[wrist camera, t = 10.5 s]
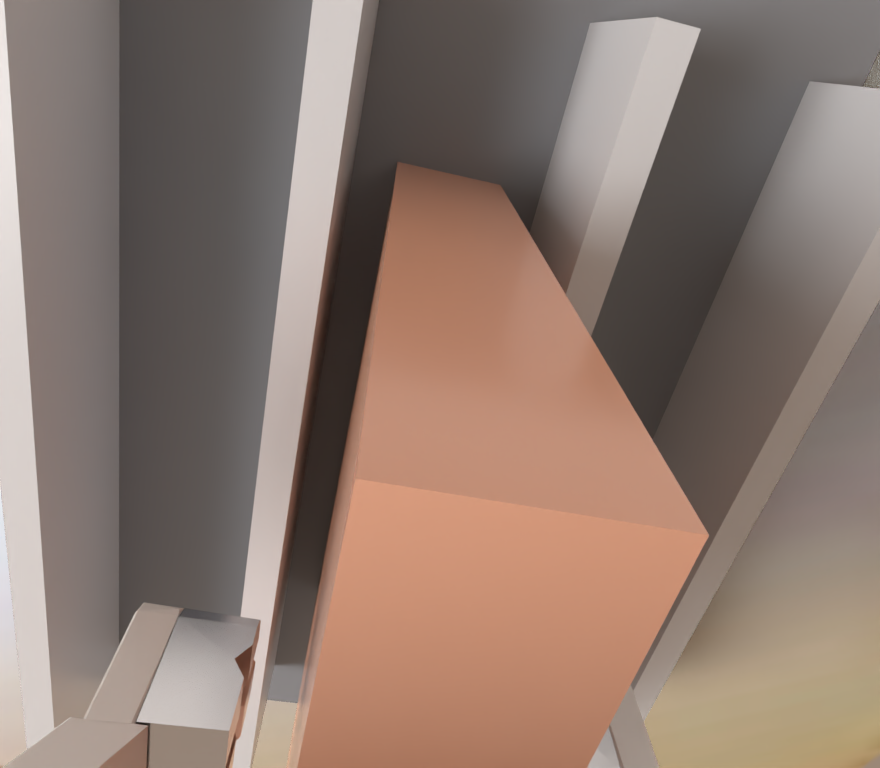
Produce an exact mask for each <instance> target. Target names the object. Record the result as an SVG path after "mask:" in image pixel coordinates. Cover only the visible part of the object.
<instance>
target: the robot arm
mask: <svg viewBox="0 0 880 768" xmlns="http://www.w3.org/2000/svg"><path fill="white" fill-rule="evenodd" d="M260 623H261V621H260V620H258V619H252V618H245V617H239V616H233V615H226V614H220V613H213V612H207V611H200V610H194V609H188V608H178V607H171V606H165V605H158V604H151V603H143V604H142V605H141V606H140V607H139V609H138V610H137V611H136V612H135V614H134V616H133V618H132V620H131V622H130V624H129V626H128V628H127V630H126V632H125V634H124V636H123V638H122V640H121V642H120V644H119V646H118V649H117V651H116V653H115V655H114V657H113V659H112V661H111V663H110V665H109V667H108V669H107V671H106V673H105V675H104V677H103V679H102V681H101V683H100V685H99V687H98V690H97V692H96V694H95V696H94V698H93V700H92V702H91V704H90V706H89V708H88V710H87V712H86V714H85V716H84V718H77V717H70V718H68V719H67V720H66V721H64V722H63V723H62V724H60V725H59V726H58V727H56V728H55V729H54V730H52V731H51V732H49V733H48V734H47V735H45V736H44V737H43V738H41V739H40V740H39V741H37V742H36V743H35V744H33V745H32V746H31V747H29V748H28V749H27V750H25V751H24V752H23V753H21V754H20V755H18V756H17V757H16V758H14V759H13V760H12V761H10V762H9V763H8V764H6V765H5V766H4V767H2V768H232V767H233V760H234V753H235V746H236V740H238V739H239V738H240V736H241V732H242V728H243V724H244V720H245V715H246V711H247V706H248V702H249V697H250V692H251V687H252V681H253V676H254V669H255V663H256V662H255V660H254V656H255V652H256V648H257V644H258V640H259V632H260ZM587 768H659V765H658V762H657V759H656V756H655V753H654V750H653V747H652V744H651V741H650V739H649V736H648V733H647V730H646V727H645V724H644V721H643V718H642V715H641V712H640V710H639V707H638V704H637V701H636V698H635V695H634V692H633V689H632V686H631V685H630V687H629V689H628V691H627V693H626V694H625V696H624V698H623V700H622V702H621V704H620V706H619V708H618V710H617V712H616V713H615V715H614V717H613V719H612V721H611V723H610V725H609V727H608V729H607V731H606V733H605V734H604V736H603V738H602V740H601V742H600V744H599V746H598V748H597V750H596V752H595V753H594V755H593V757H592V759H591V761H590V763H589V765H588V767H587Z"/></svg>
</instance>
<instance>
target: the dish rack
mask: <svg viewBox="0 0 880 768" xmlns="http://www.w3.org/2000/svg"><path fill="white" fill-rule="evenodd" d="M879 51H880V0H0V487H1V497H2V507H3V517H4V527H5V537H6V547H7V556H8V566H9V576H10V586H11V596H12V606H13V616H14V626H15V636H16V646H17V656H18V666H19V676H20V686H21V696H22V706H23V716H24V726H25V736H26V746H27V749H28V748H29V747H31V746H32V745H33V744H35V743H36V742H37V741H39V740H40V739H41V738H43V737H44V736H45V735H47V734H48V733H49V732H51V731H52V730H54V729H55V728H56V727H58V726H59V725H60V724H62V723H63V722H64V721H66V720H67V719H68V718H70V717H77V718H84V716H85V714H86V712H87V710H88V708H89V706H90V704H91V702H92V700H93V698H94V696H95V694H96V692H97V690H98V687H99V685H100V683H101V681H102V679H103V677H104V675H105V673H106V671H107V669H108V667H109V665H110V663H111V661H112V659H113V657H114V655H115V653H116V651H117V649H118V646H119V644H120V642H121V640H122V638H123V636H124V634H125V632H126V630H127V628H128V626H129V624H130V622H131V620H132V618H133V616H134V614H135V612H136V611H137V610H138V609H139V607H140V606H141V605H142V604H143V603H151V604H158V605H165V606H171V607H178V608H188V609H194V610H200V611H207V612H213V613H220V614H226V615H233V616H239V617H245V618H252V619H258V620H260V621H261V623H260V632H259V640H258V644H257V648H256V652H255V656H254V660H255V662H256V663H255V669H254V676H253V681H252V687H251V692H250V697H249V702H248V706H247V711H246V715H245V720H244V724H243V728H242V732H241V736H240V738H239V739H238V740H236V746H235V753H234V760H233V767H232V768H252V764H253V760H254V755H255V751H256V746H257V742H258V737H259V733H260V728H261V724H262V719H263V715H264V710H265V706H266V701H267V700H274V701H283V702H292V703H298V699H299V693H300V687H301V681H302V676H303V670H304V664H305V659H306V653H307V647H308V641H309V636H310V630H311V624H312V618H313V613H314V607H315V601H316V596H317V590H318V584H319V579H320V574H321V568H322V563H323V558H324V552H325V547H326V542H327V536H328V531H329V526H330V520H331V515H332V509H333V504H334V499H335V493H336V488H337V483H338V477H339V472H340V467H341V461H342V456H343V450H344V445H345V440H346V434H347V429H348V424H349V418H350V413H351V408H352V402H353V397H354V392H355V386H356V381H357V375H358V370H359V365H360V359H361V354H362V349H363V343H364V338H365V333H366V327H367V322H368V317H369V311H370V306H371V300H372V295H373V290H374V284H375V279H376V274H377V268H378V263H379V258H380V252H381V247H382V241H383V236H384V231H385V225H386V220H387V215H388V209H389V204H390V199H391V193H392V188H393V183H394V177H395V172H396V166H397V162H401V163H406V164H410V165H414V166H419V167H423V168H428V169H432V170H437V171H441V172H445V173H450V174H454V175H459V176H463V177H467V178H472V179H476V180H481V181H485V182H489V183H494V184H498V185H501V187H502V188H503V190H504V192H505V193H506V195H507V197H508V198H509V200H510V202H511V203H512V205H513V207H514V208H515V210H516V212H517V214H518V215H519V217H520V219H521V220H522V222H523V224H524V225H525V227H526V229H527V230H528V232H529V234H530V235H531V237H532V239H533V240H534V242H535V244H536V245H537V247H538V249H539V250H540V252H541V254H542V255H543V257H544V259H545V260H546V262H547V264H548V266H549V267H550V269H551V271H552V272H553V274H554V276H555V277H556V279H557V281H558V282H559V284H560V286H561V287H562V289H563V291H564V292H565V294H566V296H567V297H568V299H569V301H570V302H571V304H572V306H573V307H574V309H575V311H576V312H577V314H578V316H579V318H580V319H581V321H582V323H583V324H584V326H585V328H586V329H587V331H588V333H589V334H590V336H591V338H592V339H593V341H594V343H595V344H596V346H597V348H598V349H599V351H600V353H601V354H602V356H603V358H604V359H605V361H606V363H607V365H608V366H609V368H610V370H611V371H612V373H613V375H614V376H615V378H616V380H617V381H618V383H619V385H620V386H621V388H622V390H623V391H624V393H625V395H626V396H627V398H628V400H629V401H630V403H631V405H632V406H633V408H634V410H635V411H636V413H637V415H638V417H639V418H640V420H641V422H642V423H643V425H644V427H645V428H646V430H647V432H648V433H649V435H650V437H651V438H652V440H653V442H654V443H655V445H656V447H657V448H658V450H659V452H660V453H661V455H662V457H663V458H664V460H665V462H666V464H667V465H668V467H669V469H670V470H671V472H672V474H673V475H674V477H675V479H676V480H677V482H678V484H679V485H680V487H681V489H682V490H683V492H684V494H685V495H686V497H687V499H688V500H689V502H690V504H691V505H692V507H693V509H694V510H695V512H696V514H697V516H698V517H699V519H700V521H701V522H702V524H703V526H704V527H705V529H706V531H707V532H708V534H709V537H708V539H707V540H706V542H705V544H704V546H703V548H702V550H701V552H700V554H699V556H698V558H697V559H696V561H695V563H694V565H693V567H692V569H691V571H690V573H689V575H688V577H687V578H686V580H685V582H684V584H683V586H682V588H681V590H680V592H679V594H678V596H677V598H676V599H675V601H674V603H673V605H672V607H671V609H670V611H669V613H668V615H667V617H666V618H665V620H664V622H663V624H662V626H661V628H660V630H659V632H658V634H657V636H656V637H655V639H654V641H653V643H652V645H651V647H650V649H649V651H648V653H647V655H646V656H645V658H644V660H643V662H642V664H641V666H640V668H639V670H638V672H637V674H636V675H635V677H634V679H633V681H632V683H631V686H632V689H633V692H634V695H635V698H636V701H637V704H638V707H639V710H640V712H641V715H642V718H643V721H644V720H645V718H646V717H647V715H648V713H649V711H650V710H651V708H652V706H653V704H654V702H655V701H656V699H657V697H658V695H659V693H660V692H661V690H662V688H663V686H664V685H665V683H666V681H667V679H668V677H669V676H670V674H671V672H672V670H673V668H674V667H675V665H676V663H677V661H678V660H679V658H680V656H681V654H682V652H683V651H684V649H685V647H686V645H687V643H688V642H689V640H690V638H691V636H692V635H693V633H694V631H695V629H696V627H697V626H698V624H699V622H700V620H701V618H702V617H703V615H704V613H705V611H706V610H707V608H708V606H709V604H710V602H711V601H712V599H713V597H714V595H715V593H716V592H717V590H718V588H719V586H720V585H721V583H722V581H723V579H724V577H725V576H726V574H727V572H728V570H729V569H730V567H731V565H732V563H733V561H734V560H735V558H736V556H737V554H738V552H739V551H740V549H741V547H742V545H743V544H744V542H745V540H746V538H747V536H748V535H749V533H750V531H751V529H752V527H753V526H754V524H755V522H756V520H757V519H758V517H759V515H760V513H761V511H762V510H763V508H764V506H765V504H766V502H767V501H768V499H769V497H770V495H771V494H772V492H773V490H774V488H775V486H776V485H777V483H778V481H779V479H780V477H781V476H782V474H783V472H784V470H785V469H786V467H787V465H788V463H789V461H790V460H791V458H792V456H793V454H794V452H795V451H796V449H797V447H798V445H799V444H800V442H801V440H802V438H803V436H804V435H805V433H806V431H807V429H808V427H809V426H810V424H811V422H812V420H813V419H814V417H815V415H816V413H817V411H818V410H819V408H820V406H821V404H822V402H823V401H824V399H825V397H826V395H827V394H828V392H829V390H830V388H831V386H832V385H833V383H834V381H835V379H836V378H837V376H838V374H839V372H840V370H841V369H842V367H843V365H844V363H845V361H846V360H847V358H848V356H849V354H850V353H851V351H852V349H853V347H854V345H855V344H856V342H857V340H858V338H859V336H860V335H861V333H862V331H863V329H864V328H865V326H866V324H867V322H868V320H869V319H870V317H871V315H872V313H873V311H874V310H875V308H876V306H877V304H878V303H879V301H880V89H879V88H869V87H863V85H864V83H865V81H866V78H867V76H868V74H869V72H870V70H871V68H872V66H873V64H874V61H875V59H876V57H877V55H878V53H879Z"/></svg>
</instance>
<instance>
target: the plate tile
mask: <svg viewBox="0 0 880 768" xmlns="http://www.w3.org/2000/svg"><path fill="white" fill-rule="evenodd" d="M708 537H709V534H708V532H707V531H706V529H705V527H704V526H703V524H702V522H701V521H700V519H699V517H698V516H697V514H696V512H695V510H694V509H693V507H692V505H691V504H690V502H689V500H688V499H687V497H686V495H685V494H684V492H683V490H682V489H681V487H680V485H679V484H678V482H677V480H676V479H675V477H674V475H673V474H672V472H671V470H670V469H669V467H668V465H667V464H666V462H665V460H664V458H663V457H662V455H661V453H660V452H659V450H658V448H657V447H656V445H655V443H654V442H653V440H652V438H651V437H650V435H649V433H648V432H647V430H646V428H645V427H644V425H643V423H642V422H641V420H640V418H639V417H638V415H637V413H636V411H635V410H634V408H633V406H632V405H631V403H630V401H629V400H628V398H627V396H626V395H625V393H624V391H623V390H622V388H621V386H620V385H619V383H618V381H617V380H616V378H615V376H614V375H613V373H612V371H611V370H610V368H609V366H608V365H607V363H606V361H605V359H604V358H603V356H602V354H601V353H600V351H599V349H598V348H597V346H596V344H595V343H594V341H593V339H592V338H591V336H590V334H589V333H588V331H587V329H586V328H585V326H584V324H583V323H582V321H581V319H580V318H579V316H578V314H577V312H576V311H575V309H574V307H573V306H572V304H571V302H570V301H569V299H568V297H567V296H566V294H565V292H564V291H563V289H562V287H561V286H560V284H559V282H558V281H557V279H556V277H555V276H554V274H553V272H552V271H551V269H550V267H549V266H548V264H547V262H546V260H545V259H544V257H543V255H542V254H541V252H540V250H539V249H538V247H537V245H536V244H535V242H534V240H533V239H532V237H531V235H530V234H529V232H528V230H527V229H526V227H525V225H524V224H523V222H522V220H521V219H520V217H519V215H518V214H517V212H516V210H515V208H514V207H513V205H512V203H511V202H510V200H509V198H508V197H507V195H506V193H505V192H504V190H503V188H502V187H501V185H498V184H494V183H489V182H485V181H481V180H476V179H472V178H467V177H463V176H459V175H454V174H450V173H445V172H441V171H437V170H432V169H428V168H423V167H419V166H414V165H410V164H406V163H401V162H397V166H396V172H395V177H394V183H393V188H392V193H391V199H390V204H389V209H388V215H387V220H386V225H385V231H384V236H383V241H382V247H381V252H380V258H379V263H378V268H377V274H376V279H375V284H374V290H373V295H372V300H371V306H370V311H369V317H368V322H367V327H366V333H365V338H364V343H363V349H362V354H361V359H360V365H359V370H358V375H357V381H356V386H355V392H354V397H353V402H352V408H351V413H350V418H349V424H348V429H347V434H346V440H345V445H344V450H343V456H342V461H341V467H340V472H339V477H338V483H337V488H336V493H335V499H334V504H333V509H332V515H331V520H330V526H329V531H328V536H327V542H326V547H325V552H324V558H323V563H322V568H321V574H320V579H319V584H318V590H317V596H316V601H315V607H314V613H313V618H312V624H311V630H310V636H309V641H308V647H307V653H306V659H305V664H304V670H303V676H302V681H301V687H300V693H299V699H298V704H297V710H296V716H295V722H294V727H293V733H292V739H291V744H290V750H289V756H288V762H287V767H286V768H587V767H588V765H589V763H590V761H591V759H592V757H593V755H594V753H595V752H596V750H597V748H598V746H599V744H600V742H601V740H602V738H603V736H604V734H605V733H606V731H607V729H608V727H609V725H610V723H611V721H612V719H613V717H614V715H615V713H616V712H617V710H618V708H619V706H620V704H621V702H622V700H623V698H624V696H625V694H626V693H627V691H628V689H629V687H630V685H631V683H632V681H633V679H634V677H635V675H636V674H637V672H638V670H639V668H640V666H641V664H642V662H643V660H644V658H645V656H646V655H647V653H648V651H649V649H650V647H651V645H652V643H653V641H654V639H655V637H656V636H657V634H658V632H659V630H660V628H661V626H662V624H663V622H664V620H665V618H666V617H667V615H668V613H669V611H670V609H671V607H672V605H673V603H674V601H675V599H676V598H677V596H678V594H679V592H680V590H681V588H682V586H683V584H684V582H685V580H686V578H687V577H688V575H689V573H690V571H691V569H692V567H693V565H694V563H695V561H696V559H697V558H698V556H699V554H700V552H701V550H702V548H703V546H704V544H705V542H706V540H707V539H708Z"/></svg>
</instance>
